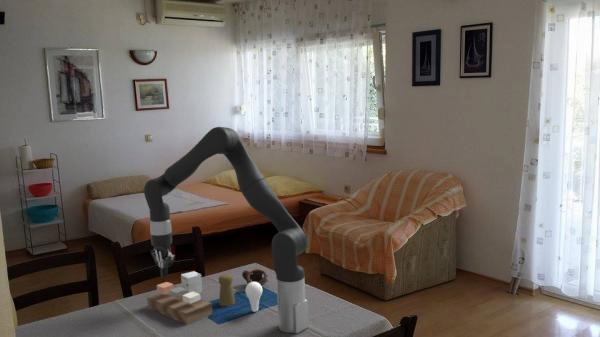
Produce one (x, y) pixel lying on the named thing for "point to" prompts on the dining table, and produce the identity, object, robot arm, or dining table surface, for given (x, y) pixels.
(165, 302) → the key panel
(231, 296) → the olive rounded waisted cylinder
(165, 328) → the dining table surface
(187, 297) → the off-white key
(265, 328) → the dining table surface
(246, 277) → the pottery mug
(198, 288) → the skincare box
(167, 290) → the terracotta key
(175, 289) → the grey key
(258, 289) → the lightbulb
